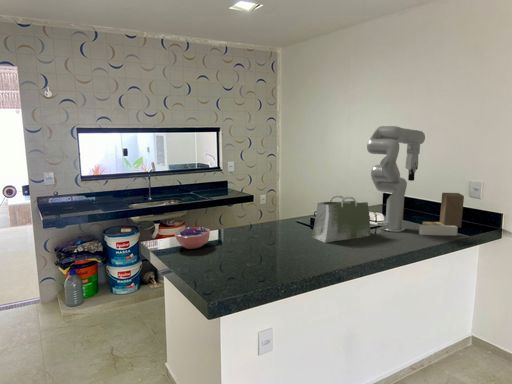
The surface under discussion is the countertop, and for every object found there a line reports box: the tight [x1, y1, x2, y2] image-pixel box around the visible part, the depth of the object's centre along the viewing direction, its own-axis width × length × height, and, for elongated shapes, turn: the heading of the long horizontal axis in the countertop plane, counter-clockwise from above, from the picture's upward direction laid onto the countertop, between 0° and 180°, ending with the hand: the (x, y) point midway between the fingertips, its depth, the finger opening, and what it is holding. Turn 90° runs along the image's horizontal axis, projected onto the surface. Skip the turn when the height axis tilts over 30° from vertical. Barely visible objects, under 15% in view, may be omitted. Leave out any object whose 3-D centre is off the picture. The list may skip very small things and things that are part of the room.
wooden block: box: [439, 192, 465, 229], centre depth 236 cm, size 10×10×20 cm
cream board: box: [418, 224, 459, 237], centre depth 217 cm, size 20×3×5 cm, turn 86°
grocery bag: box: [310, 195, 372, 244], centre depth 212 cm, size 32×14×23 cm, turn 116°
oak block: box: [421, 221, 446, 226], centre depth 223 cm, size 10×9×5 cm
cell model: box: [174, 226, 211, 250], centre depth 193 cm, size 17×20×11 cm
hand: (411, 180), depth 242 cm, fingers closed
